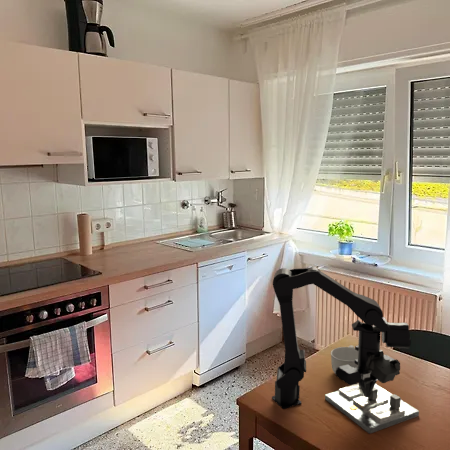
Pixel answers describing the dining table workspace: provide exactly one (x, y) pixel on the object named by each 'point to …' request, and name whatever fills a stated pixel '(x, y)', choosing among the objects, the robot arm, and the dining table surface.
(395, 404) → the right handle
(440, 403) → the dining table surface
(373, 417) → the breaker panel
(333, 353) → the teacup
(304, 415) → the dining table surface
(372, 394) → the handle
